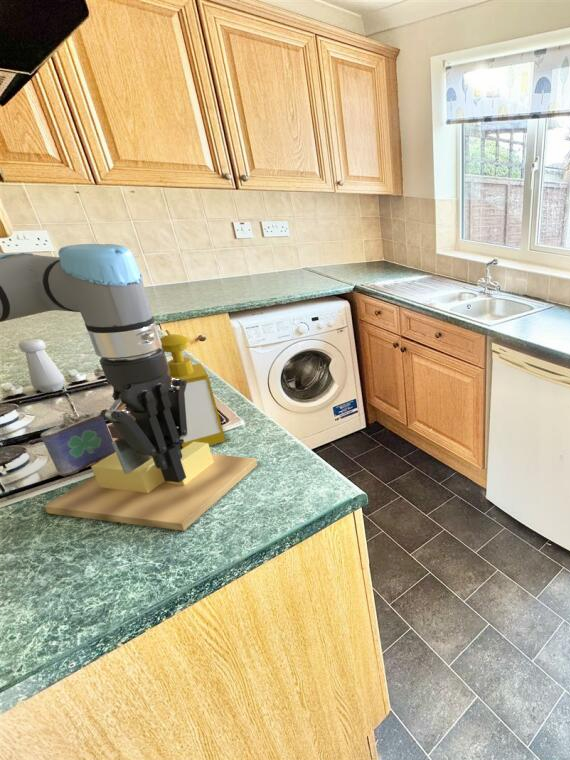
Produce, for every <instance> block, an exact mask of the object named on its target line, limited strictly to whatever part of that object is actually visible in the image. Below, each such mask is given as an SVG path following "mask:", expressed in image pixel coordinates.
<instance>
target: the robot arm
mask: <svg viewBox="0 0 570 760" xmlns="http://www.w3.org/2000/svg"><path fill="white" fill-rule="evenodd" d="M57 254H58V256H49V255H41V254H33V253H30V252H20V253H1V254H0V323H2V322H6V321H12V320H16V319H20V318H24V317H29V316H35V315H38V314H42V313H46V312H53V311H60V312H61V311H62V312H73V313H80V315H81V317H82V320H83V322H84V326H85V328H86V330H87V333H88V336H89V339H90V341H91V344H92V347H93V350H94V352H95V353H94V354H95V355H96V356H98V357H100V359H99V364H100V367H101V369H102V371H103V375H104V378H105V380H106V381H107V382H108V383H109V384H110V385H111V387H112V389H113V390H112V398H113V400H114V402H113V403H112V404H111V406H110V407H109V409H106V408H105V409H102V410H101V411H100V412H99V413H100V415H101V417H103V418H104V420H107V421H108V422H110V423H111V424H113V425H114V426H115V427H116V428H117V430H118V431H119V432H120V434H121V435H122V436H123V437H124V439H125V440H126V441H127V443H128V444H129V445H130V446H131V448H132V449H133V450H134V452H135V453H136V454H139V455H147V456H152V458H153V460H154V463H155V466H156V467H157V468H158V469H161V471H162V474H163V477H164V480H165V481H170V482H178V483H180V482H181V481H182V480H184V479H185V478H186V475H185V472H184V469H183V466H182V463H181V460H180V459H181V458H182V453H181V450H182V449H181V447H180V446H182V444H183V443H184V440H182V439H180V438H181V436H185V435H186V434H187V421H186V408H185V394H184V393H185V389H186V384H187V382H186V380H183V379H174V378H171V376H170V375H169V374H168V372H169V365H168V359H167V356H166V352H164V350H163V349H162V346H161V345H162V343H161V340H160V338H161V337H160V334H159V331H158V328H157V324H156V322H155V318H154V315H153V312H152V307H151V304H150V301H149V298H148V295H147V291H146V289H145V285H144V282H143V275H142V272H140V269H139V266H138V264H137V262H136V259H135V257H134V254H133V253H132V250H130V248H128V247H126V246H124V245H121V244H113V243H81V244H71V245H66V246H62V247H60V248H59V250H58V253H57ZM130 414H131V415H132V416H134V417H135V419H136V422H137V423H136V422H135V420H134V419H133V418H132V417H131V416H129V415H130ZM177 427H178V428H177Z"/></svg>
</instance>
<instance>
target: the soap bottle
mask: <svg viewBox="0 0 570 760" xmlns="http://www.w3.org/2000/svg"><path fill="white" fill-rule="evenodd" d="M164 332H165V333H166V334H167V335H164V336H162V337H160V340H161V343H162V345H161V349H162V350H164V352H165V353H171V357H172V359H170V360H167V362H168V365H169V372H168V374H169V375H170V376H171V378H174V379H183V380H186V382H187V384H186V389H185V393H184V394H185V408H186V421H187V434H188V435H187V436H186V437H184V438H183V439H182V440H184V443H183V444H182V445H181V447H182V449H183V448H185V447H186V446H188V445H189V444H191V443H192V442H202V443H208V444H209V447H210V446H214V445H217V444H220V443H223V442H226V441H227V440H226V437H225V434H224V429H223V426H222V422H221V419H220V418H221V417H220V414H219V411H218V407H217V403H216V400H215V397H214V393H213V389H212V385H211V381H210V377H209V374H208V373H207V371H206V369H205V368H204V366H203V365H202V363H196V364H192V361H191V359H190V357H184V356H183V353H182V351H184V350H186V349H188V343H189V342H191V338H190V337H188V336H186V335H183V334H177V333H176V334H175V333H173V334H172V333H171V332H170V331H169V330H168V329H165V331H164Z"/></svg>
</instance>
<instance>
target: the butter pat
mask: <svg viewBox="0 0 570 760" xmlns="http://www.w3.org/2000/svg"><path fill="white" fill-rule="evenodd" d="M180 450H181V453H182V458H181V459H180V460H181V463H182V466H183V469H184V472H185V475H186V478H185V479H184V480H182V481H181V482H180V483H178V482H170V481H168V482H169V484H177V485H186V484H187V483H188V482H190V481H191V480H192V479H194V478H195V477H196V476H197V475H199V474H200V473H201V472H203V471H204V470H205V469H206V468H208V467H209V466H210V465H212V464H213V463H214V461H213V458H212V454H213V453H212V451H211V447H210V446H209V444H208V443H202V442H192V443H191V444H189V445H188V446H186V447H185V448H183V447H182V449H180Z"/></svg>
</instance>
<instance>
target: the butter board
mask: <svg viewBox="0 0 570 760" xmlns="http://www.w3.org/2000/svg"><path fill="white" fill-rule="evenodd" d="M211 454H212V458H213V461H214V463H213V464H212V465H210V466H209V467H208V468H206V469H205V470H204V471H203V472H201V473H200V474H199V475H197V476H196V477H195V478H194V479H192V480H191V481H190V482H188V483H187V484H186V485H177V484H169V482H168V481H164V482H163V483H162V484H160V485H159V486H157V487H156V488H155V489H153V490H152V491H151V492H149V493H142V492H134V491H126V490H118V489H110V488H102V487H100V485H99V483H98V481H97V479H96V476H95V475H93V476H92V477H90V478H88V479H87V480H85V481H83V482H82V483H80V484H78V485H77V486H75V487H74V488H72V489H70V490H68V491H67V492H65V493H64V494H62V495H60V496H59V497H57V498H55V499H54V500H51V501H50V502H49V503H47V504H45V505H44V509H45V511H46V513H47V514H51V515H58V516H66V517H74V518H80V519H81V518H82V519H90V520H97V521H105V522H113V523H120V524H128V525H135V526H143V527H151V528H158V529H167V530H175V531H182V532H185V531H186V530H187V529H188V528H189V527H190V526H192V525H193V524H194V523H195V522H196V521H197V520H198V519H199V518H201V517H202V515H204V514H205V513H206V512H207V511H208V510H209V509H210V508H212V507H213V506H214V505H215V504H216V503H217V502H218V501H219V500H220V499H222V498H223V497H224V496H225V495H226V494H227V493H228V492H229V491H230V490H231V489H233V488H234V487H235V486H236V485H237V484H238V483H240V482H241V481H242V480H243V479H244V478H245V477H246V476H247V475H248V474H249V473H250V472H252V471H253V470H254V469H255V468H256V467H257V466H258V460H257V458H253V457H245V456H244V457H243V456H235V455H226V454H216V453H211Z"/></svg>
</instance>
